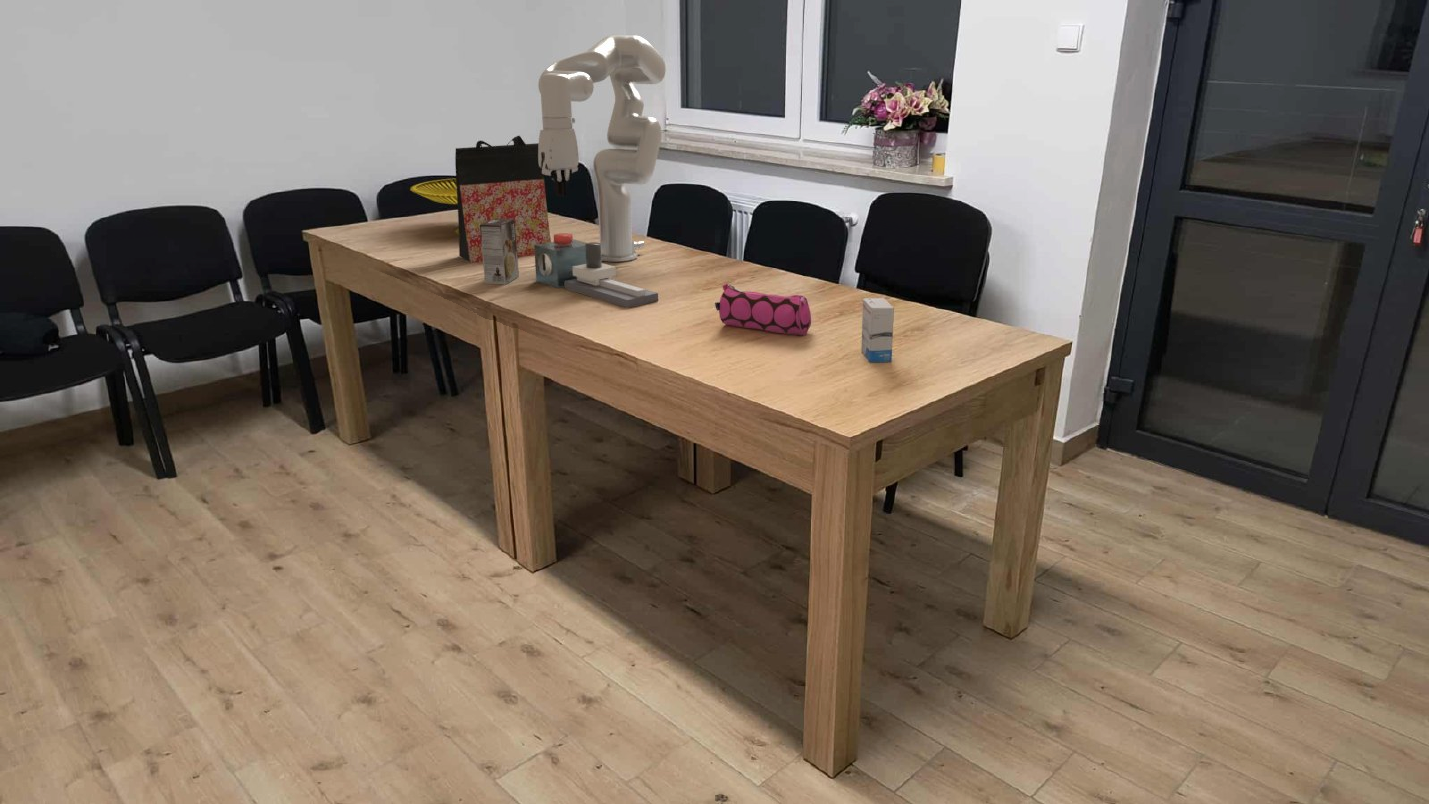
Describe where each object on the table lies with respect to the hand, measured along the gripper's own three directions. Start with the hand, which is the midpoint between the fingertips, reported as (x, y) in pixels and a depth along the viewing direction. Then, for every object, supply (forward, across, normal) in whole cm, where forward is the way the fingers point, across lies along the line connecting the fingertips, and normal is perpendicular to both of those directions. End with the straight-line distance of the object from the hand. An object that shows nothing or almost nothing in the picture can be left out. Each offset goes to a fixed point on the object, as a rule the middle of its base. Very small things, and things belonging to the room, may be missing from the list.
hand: (561, 195), depth 259 cm
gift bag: (+23, -8, -37) cm, 45 cm away
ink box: (+23, -8, +98) cm, 101 cm away
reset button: (+13, 0, 0) cm, 13 cm away
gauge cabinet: (+23, 0, 0) cm, 23 cm away
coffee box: (+23, +12, -12) cm, 29 cm away
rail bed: (+23, 0, +20) cm, 30 cm away
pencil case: (+23, -6, +68) cm, 72 cm away
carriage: (+21, 0, +13) cm, 25 cm away
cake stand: (+24, -19, -75) cm, 81 cm away
